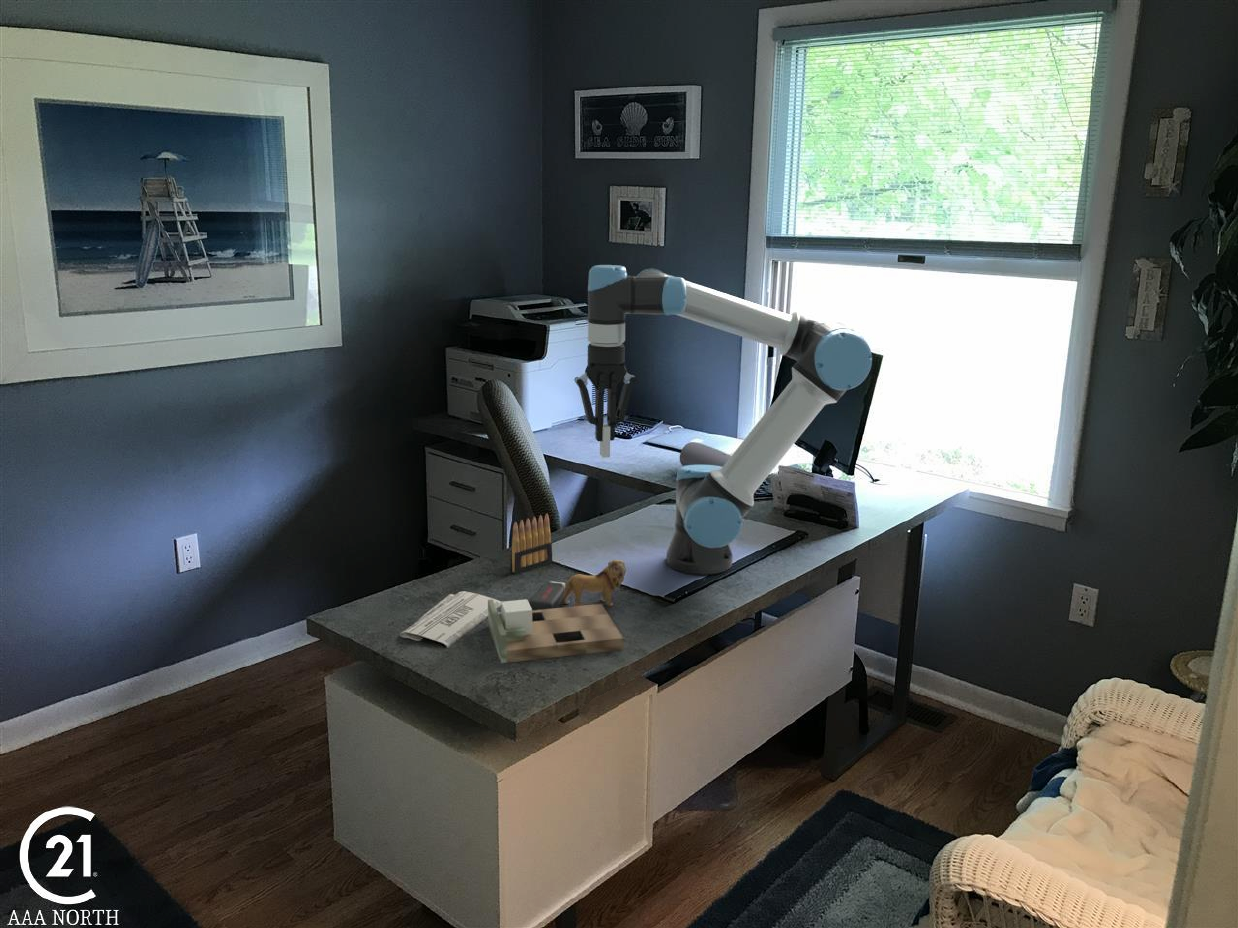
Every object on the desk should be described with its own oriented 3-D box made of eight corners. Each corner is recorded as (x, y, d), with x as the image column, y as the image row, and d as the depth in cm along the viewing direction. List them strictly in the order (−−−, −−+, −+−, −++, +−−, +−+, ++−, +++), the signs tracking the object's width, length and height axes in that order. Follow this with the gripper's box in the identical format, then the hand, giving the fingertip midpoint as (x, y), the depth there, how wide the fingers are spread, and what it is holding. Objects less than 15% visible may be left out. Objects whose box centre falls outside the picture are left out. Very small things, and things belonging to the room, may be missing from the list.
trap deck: (601, 614, 205) (601, 589, 204) (622, 649, 190) (623, 622, 189) (488, 626, 199) (487, 599, 197) (501, 663, 184) (500, 635, 183)
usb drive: (528, 612, 207) (528, 599, 206) (546, 589, 218) (546, 577, 217) (552, 615, 205) (552, 602, 205) (569, 592, 217) (569, 580, 216)
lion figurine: (619, 594, 215) (620, 554, 213) (629, 603, 210) (630, 563, 208) (554, 603, 210) (554, 563, 207) (562, 614, 205) (562, 572, 203)
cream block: (527, 623, 195) (527, 599, 194) (532, 634, 190) (532, 609, 189) (501, 625, 194) (501, 601, 192) (506, 637, 189) (505, 612, 188)
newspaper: (452, 597, 214) (452, 586, 213) (502, 612, 210) (503, 601, 209) (389, 640, 194) (389, 628, 193) (444, 657, 190) (445, 645, 189)
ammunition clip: (515, 574, 224) (514, 523, 221) (510, 572, 226) (509, 521, 222) (552, 563, 231) (552, 513, 228) (547, 560, 233) (547, 511, 229)
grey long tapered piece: (748, 491, 286) (750, 457, 283) (722, 495, 281) (723, 461, 279) (703, 470, 305) (704, 438, 302) (677, 474, 300) (678, 441, 297)
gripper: (632, 339, 209) (629, 449, 216) (570, 341, 206) (570, 452, 213) (642, 345, 202) (639, 458, 209) (579, 347, 199) (578, 462, 206)
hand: (604, 455), depth 211 cm, fingers closed
